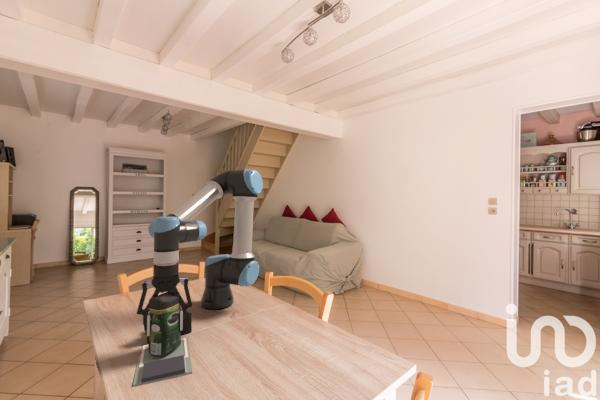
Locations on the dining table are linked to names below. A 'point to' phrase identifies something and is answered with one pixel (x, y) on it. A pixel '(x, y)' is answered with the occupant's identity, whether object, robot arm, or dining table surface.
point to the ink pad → (163, 369)
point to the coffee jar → (164, 324)
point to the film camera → (186, 325)
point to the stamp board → (147, 357)
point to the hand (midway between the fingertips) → (165, 331)
